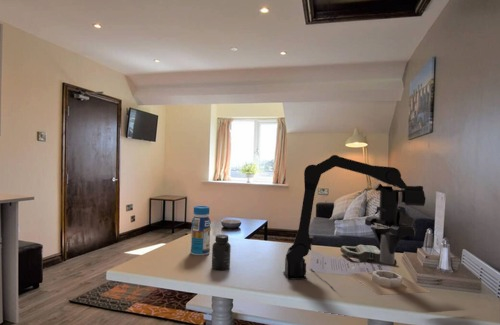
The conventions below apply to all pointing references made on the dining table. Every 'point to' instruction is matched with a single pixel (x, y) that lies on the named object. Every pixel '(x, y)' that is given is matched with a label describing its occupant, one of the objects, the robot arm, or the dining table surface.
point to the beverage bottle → (200, 231)
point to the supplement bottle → (221, 253)
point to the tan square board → (382, 290)
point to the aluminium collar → (387, 278)
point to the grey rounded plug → (385, 251)
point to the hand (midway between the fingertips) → (387, 251)
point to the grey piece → (363, 253)
